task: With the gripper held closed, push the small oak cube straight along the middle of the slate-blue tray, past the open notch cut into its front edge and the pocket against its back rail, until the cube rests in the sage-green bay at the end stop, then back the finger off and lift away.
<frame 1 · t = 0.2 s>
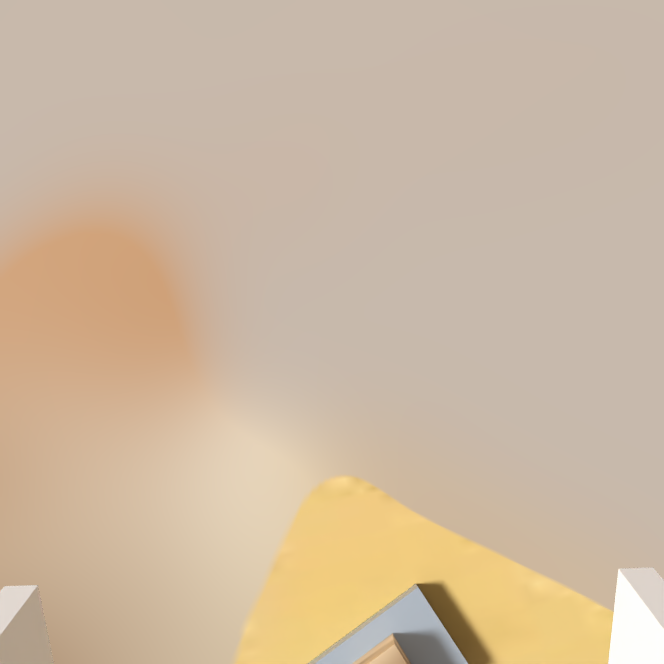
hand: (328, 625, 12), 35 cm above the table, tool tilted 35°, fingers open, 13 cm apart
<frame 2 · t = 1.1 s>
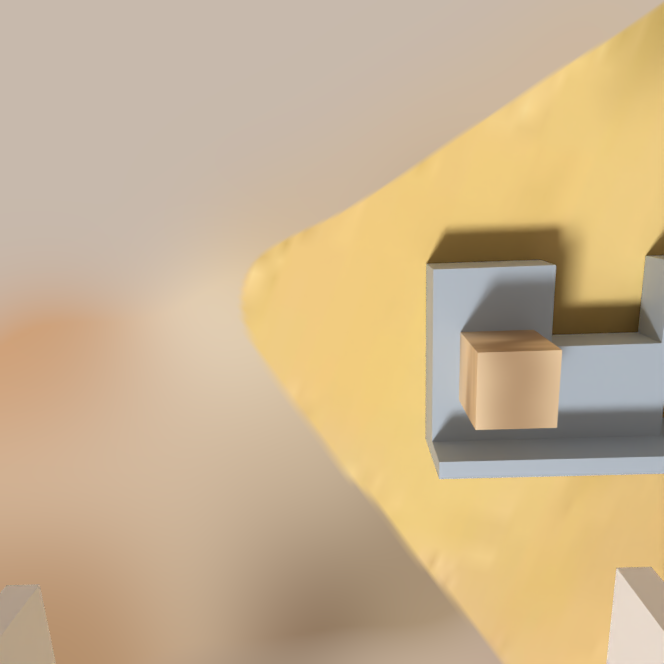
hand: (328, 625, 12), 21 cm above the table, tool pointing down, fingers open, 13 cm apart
oak block: (495, 365, 30), point 2 cm above the table, touching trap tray
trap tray: (644, 347, 33), on the table
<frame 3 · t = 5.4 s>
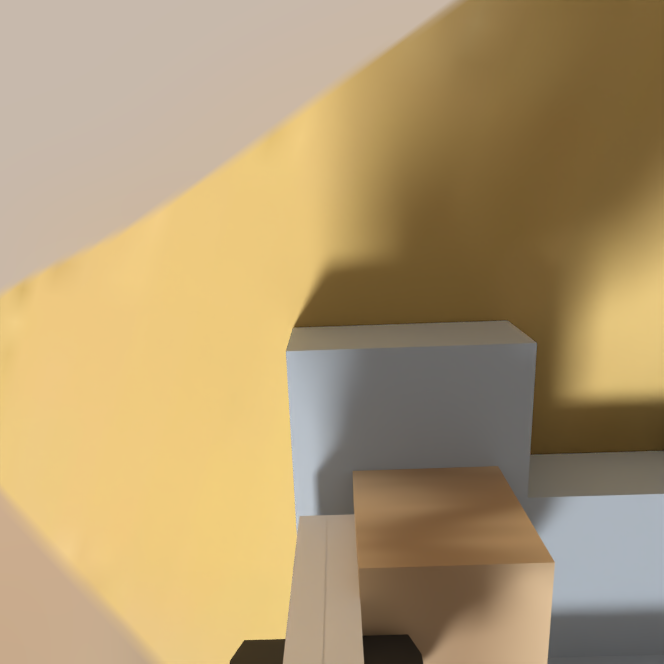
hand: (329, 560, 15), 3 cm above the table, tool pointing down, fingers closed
oak block: (424, 531, 16), point 3 cm above the table, touching gripper
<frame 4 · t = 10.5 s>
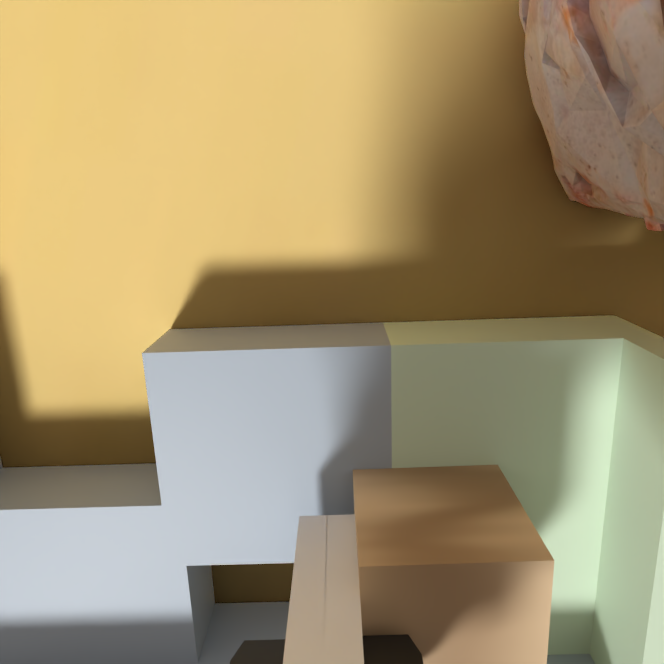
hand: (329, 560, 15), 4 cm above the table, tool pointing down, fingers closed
oak block: (424, 530, 16), point 3 cm above the table, touching gripper
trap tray: (203, 489, 18), on the table
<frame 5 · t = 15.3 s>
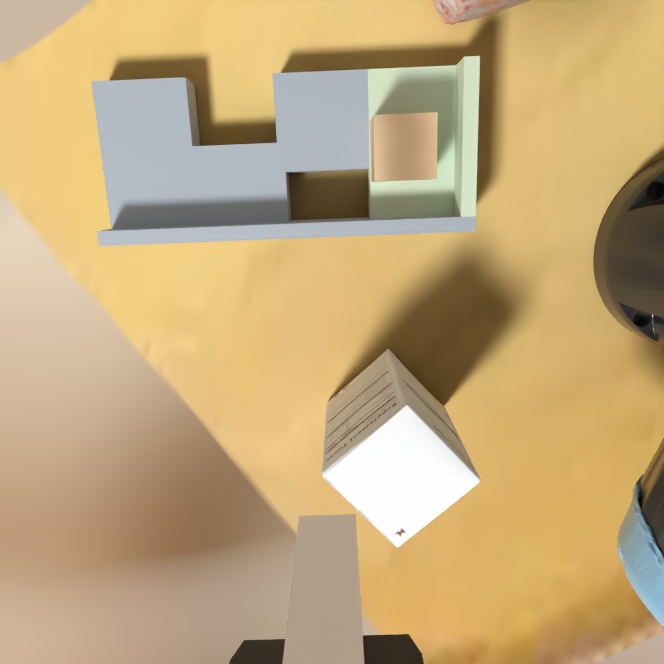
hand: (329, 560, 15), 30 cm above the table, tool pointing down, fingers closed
supplement box: (384, 402, 46), on the table
oak block: (398, 151, 39), point 2 cm above the table, touching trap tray
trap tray: (287, 159, 41), on the table
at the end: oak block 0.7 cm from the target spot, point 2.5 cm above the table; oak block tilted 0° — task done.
